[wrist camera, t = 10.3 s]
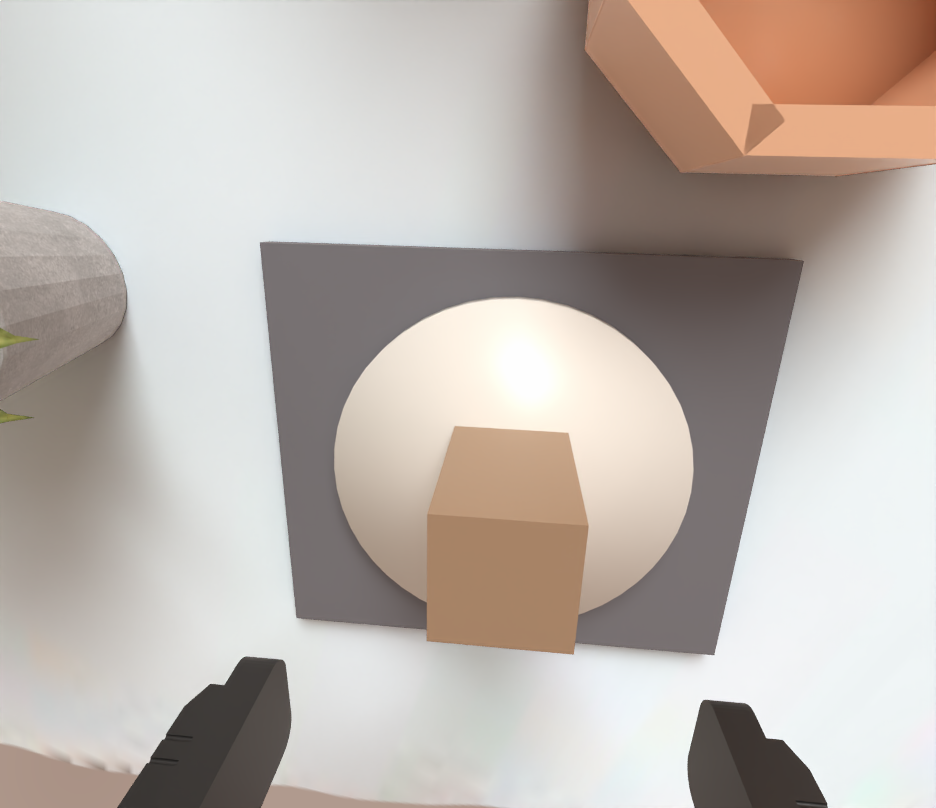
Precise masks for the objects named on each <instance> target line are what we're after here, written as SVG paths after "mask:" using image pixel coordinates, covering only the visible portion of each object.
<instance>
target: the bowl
mask: <svg viewBox="0 0 936 808" xmlns="http://www.w3.org/2000/svg"><path fill="white" fill-rule="evenodd" d="M584 50H585V51H586V53H587V54H588V55H589V56H590V58H591V59H592V60H593V61H594V63H595V64H596V65H597V67H598V68H599V69H600V70H601V72H602V73H603V74H604V75H605V77H606V78H607V79H608V81H609V82H610V83H611V84H612V86H613V87H614V88H615V90H616V91H617V92H618V93H619V95H620V96H621V97H622V98H623V100H624V101H625V102H626V104H627V105H628V106H629V107H630V109H631V110H632V111H633V113H634V114H635V115H636V116H637V118H638V119H639V120H640V121H641V123H642V124H643V125H644V127H645V128H646V129H647V130H648V132H649V133H650V134H651V136H652V137H653V138H654V139H655V141H656V142H657V143H658V144H659V146H660V147H661V148H662V150H663V151H664V152H665V153H666V155H667V156H668V157H669V159H670V160H671V161H672V162H673V164H674V165H675V166H676V167H677V169H678V170H679V171H680V173H725V174H771V175H817V176H844V175H852V174H860V173H868V172H876V171H884V170H892V169H900V168H908V167H916V166H924V165H932V164H936V0H589V4H588V16H587V28H586V40H585V48H584Z"/></svg>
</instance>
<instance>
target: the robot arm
mask: <svg viewBox="0 0 936 808" xmlns="http://www.w3.org/2000/svg"><path fill="white" fill-rule="evenodd" d="M290 728H291V708H290V699H289V690H288V681H287V673H286V665H285V662H284V661H283V660H279V659H268V658H257V657H244V658H242V659H241V660H240V661H239V663H238V664H237V666H236V667H235V669H234V671H233V672H232V674H231V676H230V677H229V679H228V680H227V682H226V684H225V685H216V684H210V685H209V686H208V687H206V688H205V689H204V690H203V691H202V692H201V693H199V694H198V695H197V696H196V697H195V698H194V699H192V700H191V701H190V702H189V703H188V704H187V705H186V706H184V708H183V709H182V711H181V712H180V714H179V715H178V717H177V719H176V720H175V722H174V723H173V725H172V726H171V728H170V729H169V731H168V732H167V734H166V738H165V739H164V740H162V741H161V743H160V744H159V746H158V747H157V749H156V750H155V752H154V753H153V755H152V756H151V760H150V762H149V763H147V764H146V765H145V767H144V768H143V770H142V771H141V773H140V774H139V776H138V777H137V779H136V780H135V782H134V784H133V785H132V786H131V788H130V789H129V791H128V792H127V794H126V796H125V797H124V798H123V800H122V801H121V803H120V804H119V806H118V807H117V808H261V806H262V804H263V801H264V799H265V796H266V794H267V792H268V789H269V787H270V785H271V782H272V780H273V778H274V775H275V773H276V771H277V768H278V766H279V764H280V761H281V759H282V757H283V754H284V752H285V749H286V746H287V742H288V739H289V734H290ZM688 780H689V787H690V792H691V796H692V800H693V803H694V806H695V808H828V807H827V802H826V800H825V798H824V796H823V794H822V792H821V791H820V789H819V787H818V785H817V783H816V781H815V779H814V777H813V775H812V773H811V771H810V770H809V769H808V767H807V766H806V765H805V764H804V763H803V762H802V761H801V760H800V759H799V758H798V756H797V755H796V754H795V753H794V752H793V751H792V750H791V749H790V748H789V747H788V745H787V744H786V743H785V742H784V741H783V740H777V739H767V738H766V737H765V735H764V733H763V731H762V729H761V726H760V724H759V722H758V720H757V718H756V716H755V714H754V712H753V710H752V709H751V707H750V706H749V705H747V704H745V703H734V702H723V701H712V700H703V701H702V703H701V705H700V709H699V713H698V717H697V721H696V726H695V730H694V734H693V738H692V742H691V746H690V751H689V755H688Z"/></svg>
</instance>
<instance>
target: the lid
mask: <svg viewBox="0 0 936 808" xmlns="http://www.w3.org/2000/svg"><path fill="white" fill-rule="evenodd" d="M334 471H335V478H336V486H337V491H338V495H339V498H340V502H341V506H342V509H343V511H344V514H345V516H346V518H347V521H348V523H349V525H350V528H351V529H352V531H353V533H354V534H355V536H356V538H357V540H358V541H359V543H360V545H361V546H362V547H363V549H364V550H365V551H366V553H367V554H368V555H369V556H370V558H371V559H372V560H373V561H374V562H375V564H376V565H377V566H378V567H379V568H380V569H381V570H382V571H383V572H384V573H385V574H386V575H387V576H388V577H390V578H391V579H392V580H393V581H395V582H396V583H397V584H398V585H400V586H401V587H402V588H403V589H405V590H406V591H408V592H410V593H411V594H413V595H414V596H416V597H417V598H419V599H421V600H423V601H425V602H427V641H432V642H443V643H454V644H465V645H476V646H487V647H498V648H509V649H520V650H531V651H541V652H552V653H563V654H574V647H575V639H576V630H577V622H578V615H579V614H582V613H585V612H587V611H590V610H592V609H594V608H597V607H599V606H601V605H603V604H605V603H607V602H609V601H610V600H612V599H614V598H616V597H618V596H619V595H621V594H622V593H624V592H625V591H626V590H628V589H629V588H630V587H632V586H633V585H635V584H636V583H637V582H638V581H639V580H640V579H642V578H643V577H644V576H645V575H646V574H647V573H648V572H649V571H650V570H651V569H652V568H653V567H654V566H655V564H656V563H657V562H658V561H659V560H660V558H661V557H662V556H663V555H664V553H665V552H666V551H667V549H668V547H669V546H670V544H671V542H672V541H673V539H674V538H675V536H676V534H677V532H678V530H679V528H680V525H681V523H682V521H683V518H684V516H685V514H686V510H687V506H688V503H689V499H690V495H691V489H692V480H693V471H694V470H693V448H692V443H691V438H690V433H689V428H688V424H687V422H686V419H685V416H684V413H683V410H682V408H681V405H680V403H679V401H678V399H677V397H676V396H675V394H674V392H673V390H672V388H671V386H670V384H669V383H668V382H667V380H666V379H665V378H664V376H663V375H662V374H661V372H660V371H659V370H658V368H657V367H656V366H655V364H654V363H653V362H652V361H651V360H650V359H649V358H648V357H647V356H646V355H645V354H644V353H643V352H642V351H641V350H640V349H639V348H638V347H637V346H636V345H635V344H634V343H633V342H632V341H631V340H630V339H629V338H627V337H626V336H625V335H623V334H622V333H621V332H619V331H618V330H617V329H616V328H614V327H613V326H611V325H609V324H608V323H606V322H604V321H602V320H600V319H599V318H597V317H595V316H593V315H591V314H589V313H587V312H584V311H582V310H579V309H576V308H574V307H571V306H569V305H565V304H561V303H557V302H553V301H549V300H545V299H537V298H527V297H492V298H485V299H479V300H473V301H468V302H465V303H461V304H458V305H454V306H451V307H448V308H445V309H443V310H441V311H438V312H436V313H434V314H432V315H430V316H427V317H425V318H423V319H422V320H420V321H419V322H417V323H415V324H414V325H412V326H411V327H409V328H407V329H406V330H404V331H403V332H402V333H401V334H400V335H398V336H397V337H396V338H395V339H394V340H393V341H391V342H390V343H389V344H388V345H387V346H386V347H385V348H384V349H383V350H382V351H381V352H380V353H379V354H378V355H377V356H376V357H375V358H374V359H373V361H372V362H371V363H370V364H369V365H368V366H367V367H366V368H365V370H364V371H363V373H362V374H361V376H360V377H359V379H358V380H357V382H356V383H355V385H354V386H353V388H352V390H351V393H350V395H349V397H348V399H347V401H346V403H345V405H344V408H343V411H342V414H341V417H340V421H339V424H338V428H337V434H336V441H335V447H334Z"/></svg>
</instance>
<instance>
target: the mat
mask: <svg viewBox="0 0 936 808" xmlns="http://www.w3.org/2000/svg"><path fill="white" fill-rule="evenodd" d="M260 248H261V259H262V269H263V279H264V289H265V300H266V310H267V320H268V330H269V341H270V351H271V361H272V371H273V382H274V392H275V402H276V412H277V423H278V433H279V443H280V453H281V464H282V474H283V484H284V494H285V505H286V515H287V525H288V535H289V546H290V556H291V566H292V576H293V587H294V597H295V607H296V617H297V618H303V619H314V620H326V621H337V622H348V623H359V624H370V625H382V626H393V627H404V628H415V629H426V630H427V602H425V601H423V600H421V599H419V598H417V597H416V596H414V595H413V594H411V593H410V592H408V591H406V590H405V589H403V588H402V587H401V586H400V585H398V584H397V583H396V582H395V581H393V580H392V579H391V578H390V577H388V576H387V575H386V574H385V573H384V572H383V571H382V570H381V569H380V568H379V567H378V566H377V565H376V564H375V562H374V561H373V560H372V559H371V558H370V556H369V555H368V554H367V553H366V551H365V550H364V549H363V547H362V546H361V545H360V543H359V541H358V540H357V538H356V536H355V534H354V533H353V531H352V529H351V528H350V525H349V523H348V521H347V518H346V516H345V514H344V511H343V509H342V506H341V502H340V498H339V495H338V491H337V486H336V478H335V471H334V447H335V441H336V434H337V428H338V424H339V421H340V417H341V414H342V411H343V408H344V405H345V403H346V401H347V399H348V397H349V395H350V393H351V390H352V388H353V386H354V385H355V383H356V382H357V380H358V379H359V377H360V376H361V374H362V373H363V371H364V370H365V368H366V367H367V366H368V365H369V364H370V363H371V362H372V361H373V359H374V358H375V357H376V356H377V355H378V354H379V353H380V352H381V351H382V350H383V349H384V348H385V347H386V346H387V345H388V344H389V343H390V342H391V341H393V340H394V339H395V338H396V337H397V336H398V335H400V334H401V333H402V332H403V331H404V330H406V329H407V328H409V327H411V326H412V325H414V324H415V323H417V322H419V321H420V320H422V319H423V318H425V317H427V316H430V315H432V314H434V313H436V312H438V311H441V310H443V309H445V308H448V307H451V306H454V305H458V304H461V303H465V302H468V301H473V300H479V299H485V298H492V297H527V298H537V299H545V300H549V301H553V302H557V303H561V304H565V305H569V306H571V307H574V308H576V309H579V310H582V311H584V312H587V313H589V314H591V315H593V316H595V317H597V318H599V319H600V320H602V321H604V322H606V323H608V324H609V325H611V326H613V327H614V328H616V329H617V330H618V331H619V332H621V333H622V334H623V335H625V336H626V337H627V338H629V339H630V340H631V341H632V342H633V343H634V344H635V345H636V346H637V347H638V348H639V349H640V350H641V351H642V352H643V353H644V354H645V355H646V356H647V357H648V358H649V359H650V360H651V361H652V362H653V363H654V364H655V366H656V367H657V368H658V370H659V371H660V372H661V374H662V375H663V376H664V378H665V379H666V380H667V382H668V383H669V384H670V386H671V388H672V390H673V392H674V394H675V396H676V397H677V399H678V401H679V403H680V405H681V408H682V410H683V413H684V416H685V419H686V422H687V424H688V428H689V433H690V438H691V443H692V448H693V470H694V471H693V480H692V489H691V495H690V499H689V503H688V506H687V510H686V514H685V516H684V518H683V521H682V523H681V525H680V528H679V530H678V532H677V534H676V536H675V538H674V539H673V541H672V542H671V544H670V546H669V547H668V549H667V551H666V552H665V553H664V555H663V556H662V557H661V558H660V560H659V561H658V562H657V563H656V564H655V566H654V567H653V568H652V569H651V570H650V571H649V572H648V573H647V574H646V575H645V576H644V577H643V578H642V579H640V580H639V581H638V582H637V583H636V584H635V585H633V586H632V587H630V588H629V589H628V590H626V591H625V592H624V593H622V594H621V595H619V596H618V597H616V598H614V599H612V600H610V601H609V602H607V603H605V604H603V605H601V606H599V607H597V608H594V609H592V610H590V611H587V612H585V613H582V614H579V615H578V622H577V630H576V639H575V643H583V644H595V645H606V646H617V647H628V648H639V649H651V650H662V651H673V652H684V653H695V654H707V655H714V653H715V649H716V645H717V640H718V636H719V631H720V627H721V623H722V618H723V614H724V609H725V605H726V601H727V596H728V592H729V587H730V583H731V579H732V574H733V570H734V565H735V561H736V557H737V552H738V548H739V543H740V539H741V535H742V530H743V526H744V521H745V517H746V513H747V508H748V504H749V499H750V495H751V491H752V486H753V482H754V477H755V473H756V469H757V464H758V460H759V455H760V451H761V447H762V442H763V438H764V433H765V429H766V425H767V420H768V416H769V411H770V407H771V403H772V398H773V394H774V389H775V385H776V381H777V376H778V372H779V367H780V363H781V359H782V354H783V350H784V346H785V341H786V337H787V332H788V328H789V324H790V319H791V315H792V310H793V306H794V302H795V297H796V293H797V288H798V284H799V280H800V275H801V271H802V266H803V262H804V261H801V260H795V259H776V258H746V257H716V256H686V255H656V254H626V253H597V252H567V251H537V250H507V249H477V248H447V247H418V246H388V245H358V244H328V243H298V242H261V243H260Z"/></svg>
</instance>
